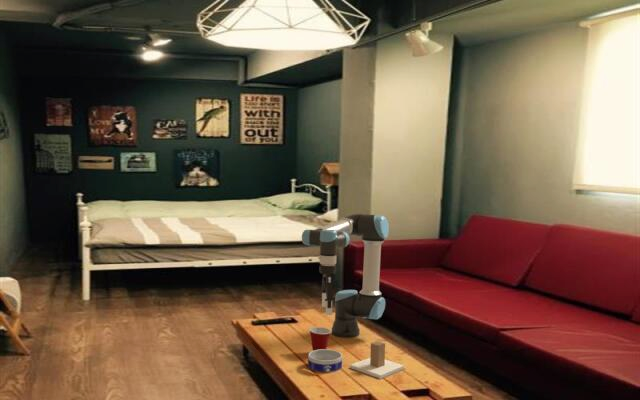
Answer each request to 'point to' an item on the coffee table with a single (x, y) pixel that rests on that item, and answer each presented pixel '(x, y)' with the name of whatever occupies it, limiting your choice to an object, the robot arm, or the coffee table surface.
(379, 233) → the robot arm
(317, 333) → the plastic cup
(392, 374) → the mat
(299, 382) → the coffee table surface
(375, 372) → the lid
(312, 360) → the dog bowl
